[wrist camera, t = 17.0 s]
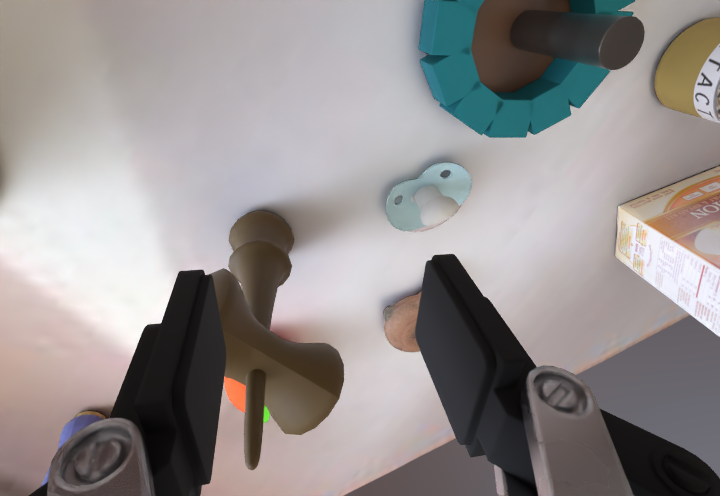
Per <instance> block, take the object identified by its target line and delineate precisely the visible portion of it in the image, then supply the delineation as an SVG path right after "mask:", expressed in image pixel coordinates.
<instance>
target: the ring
mask: <svg viewBox="0 0 720 496" xmlns="http://www.w3.org/2000/svg"><path fill="white" fill-rule="evenodd" d="M634 1H635V0H569V4H570V11H571V12H573V13H588V14H604V15H620V16H632V15H633V12H624V11H618V10H620V9H622V8H624V7H625V6H627V5H629V4H631V3H633V2H634ZM483 2H484V0H425V1H424V8H423V17H422V26H421V34H420V43H419V50H420V51H423V52H425V53H428V54H429V55H428V56H426V57H424V58H422V59H421V60H420V63H421V65H422V68H423V70H424V73H425V76H426V78H427V81H428V84H429V86H430V89H431V92H432V94H433V97H434V99H436V100H437V101H439V102H440V105H439V106H441V107H442V108H443V109H445V110H446V111H448V112H449V113H450V114H452V115H453V116H455V117H456V118H457V119H459V120H460V121H462V122H463V123H464V124H466V125H467V126H469V127H470V128H472V129H473V130H475V131H476V132H477V133H479V134H480V135H482V134H483V133H484V134H485V135H487V136H488V137H526V135H527V132H530V133H532V134H534V135H535V134H537V133H539V132H541V131H543V130H544V129H546V128H548V127H550V126H552V125H554V124H555V123H557V122H559V121H561V120H563V119H565V118H567V117H568V116H570V115H571V111H570V105H571V106H574V107H576V108H580V107H581V106H582V105H583V103H584V102H585V101H586V100H587V99H588V97H589V96H590V95H591V94H592V93H593V91H594V90H595V89H596V88H597V87H598V85H599V84H600V83H601V82H602V81H603V79H604V78H605V77H606V76H607V75H608V73H609V72H610V71H609V70H608V69H604V68H599V67H595V66H591V65H586V64H582V63H577V62H573V61H569V60H564V59H560V58H555V59H554V60H553V61H552V63H551V64H550V65H549V67H548V68H547V69H546V70H545V72H544V73H543V74H542V76H541V77H540V78H539V79H537V80H535V81H533V82H531V83H530V84H528V85H526V86H524V87H522V88H521V89H519V90H517V91H515V92H493V91H491V90H490V89H489V88H488V87H486V86H485V85H484V84H483V83H481V82H480V79H479V75H478V72H477V69H476V65H475V62H474V59H473V55H472V52H471V45H472V40H473V34H474V29H475V23H476V18H477V12H478V9H479V8H480V6H481V5H482V3H483Z"/></svg>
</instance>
